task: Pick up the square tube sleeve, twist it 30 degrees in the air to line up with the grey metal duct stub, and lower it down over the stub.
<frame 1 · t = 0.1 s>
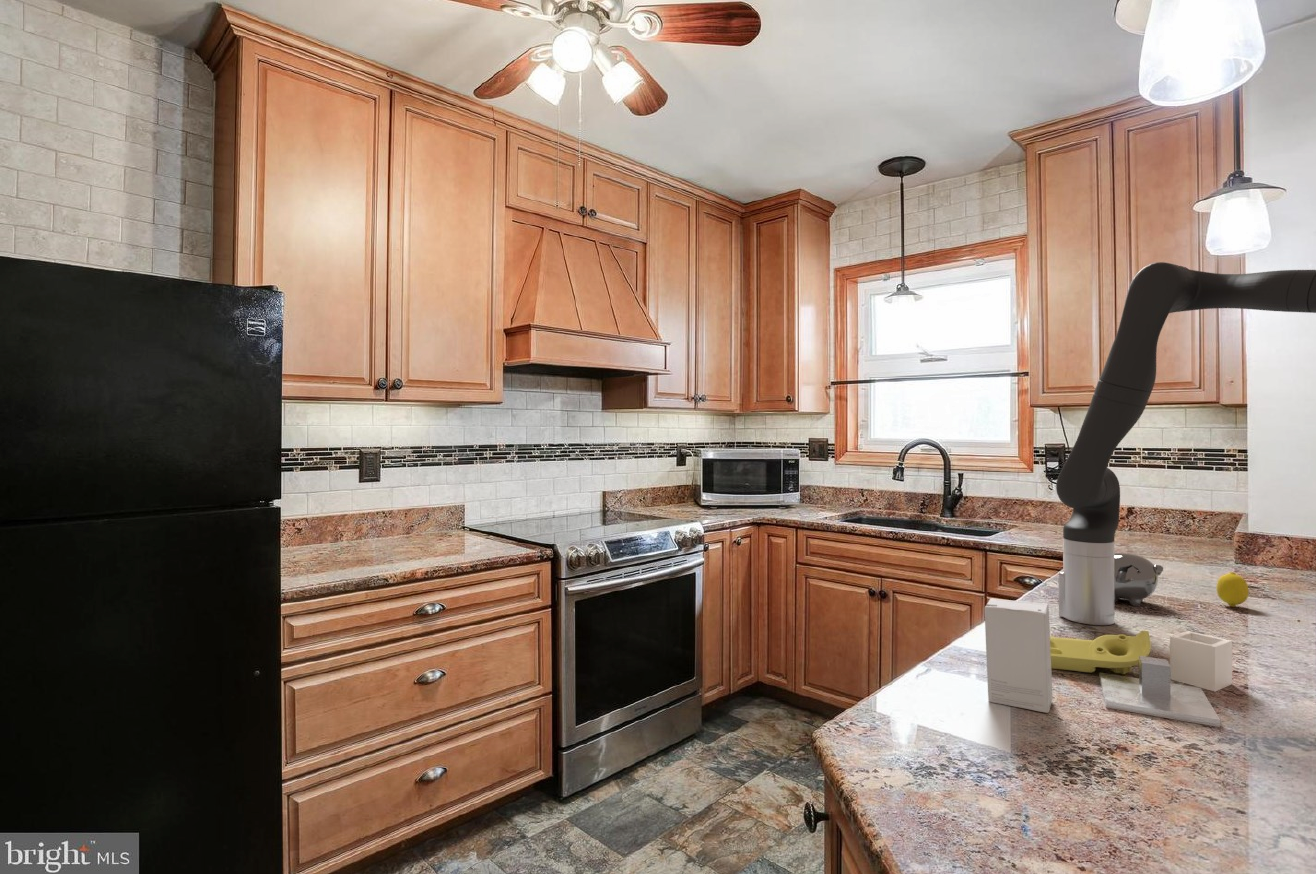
skincare box: (1018, 703, 99), on the countertop
square tube sleeve: (1200, 681, 106), on the countertop
duct stub: (1154, 700, 99), on the countertop
lemon: (1232, 607, 151), on the countertop
piggy bank: (1123, 602, 156), on the countertop
plastic component: (1077, 668, 114), on the countertop
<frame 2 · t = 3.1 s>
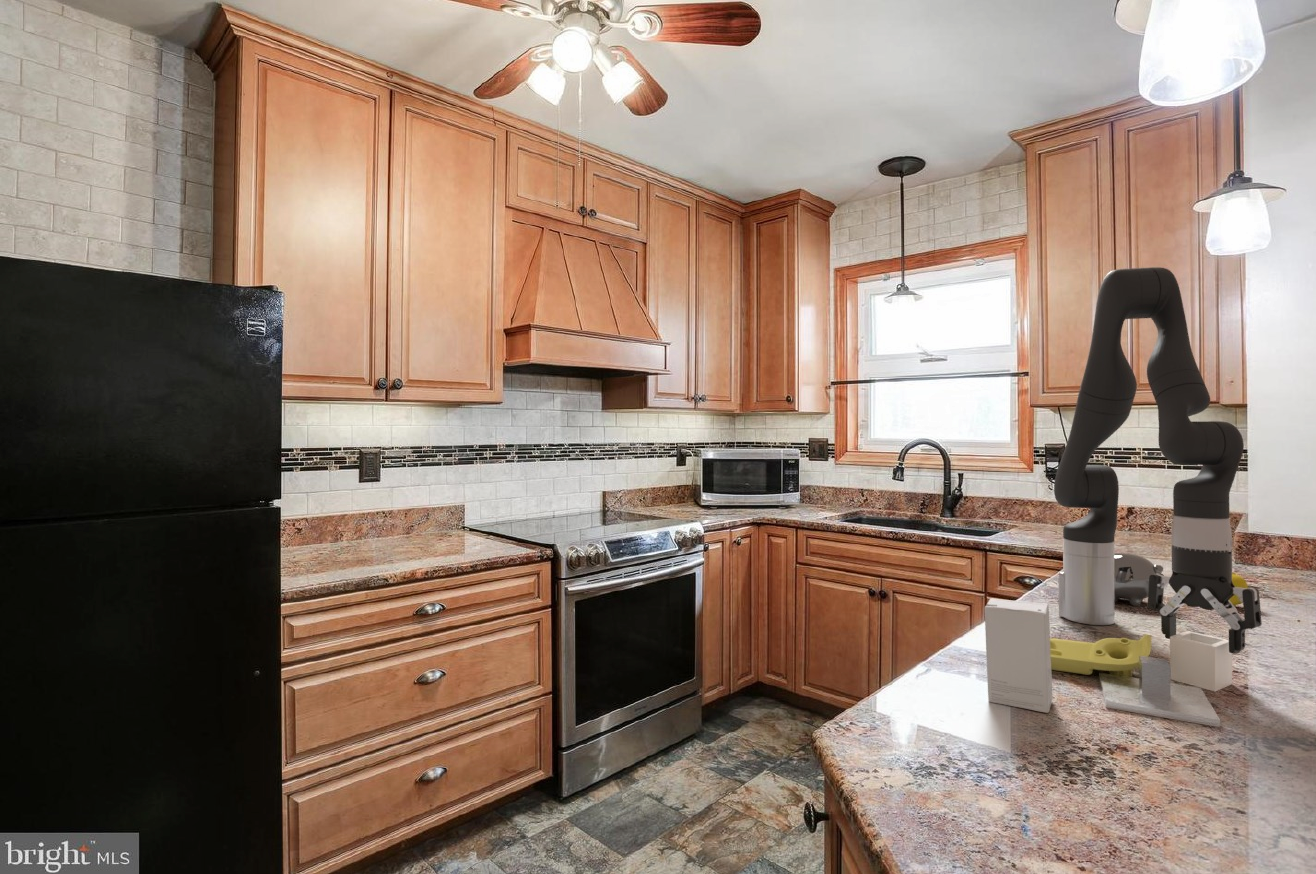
hand: (1201, 645, 106), 6 cm above the countertop, fingers open, 8 cm apart
plastic component: (1078, 670, 113), on the countertop
everything else where it was.
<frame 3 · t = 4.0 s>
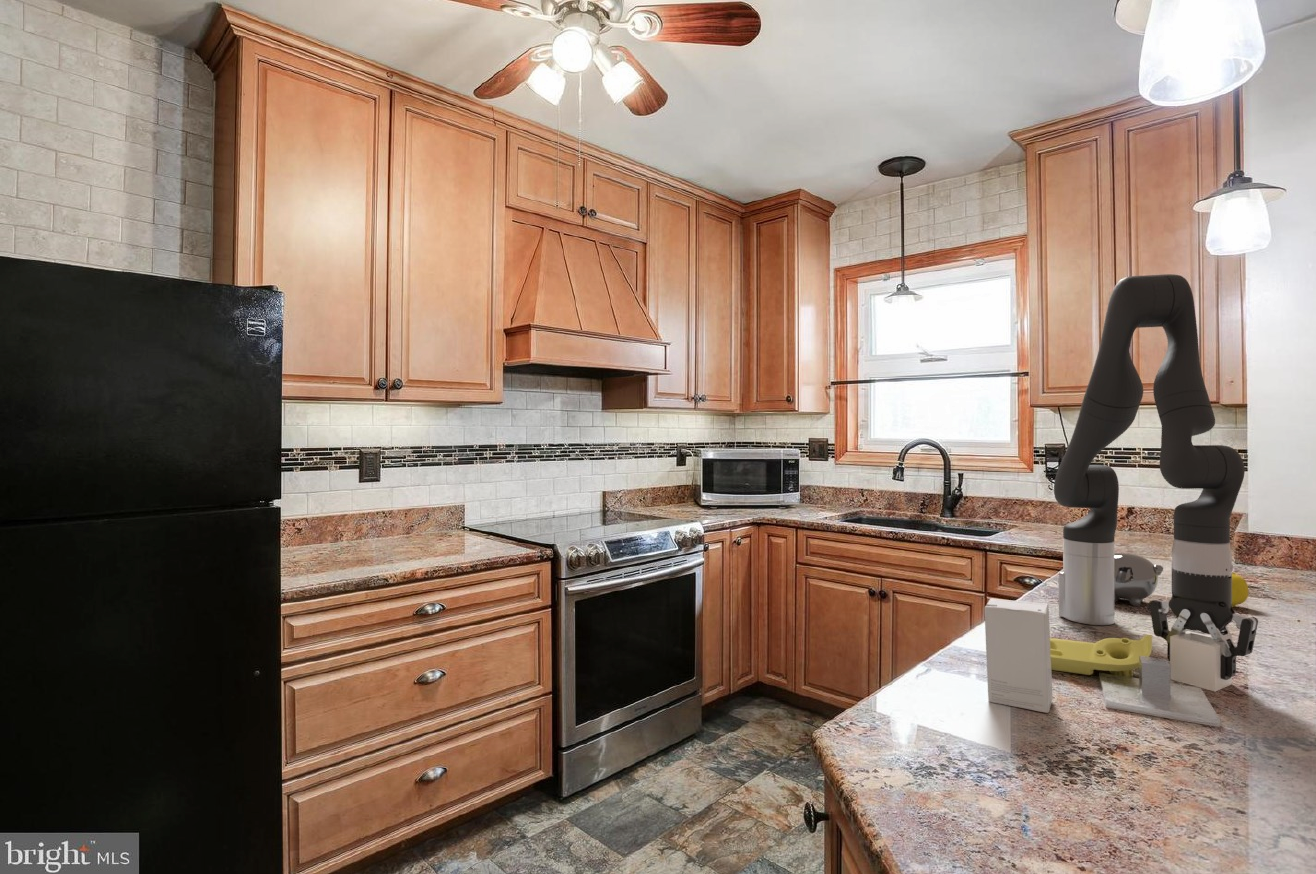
hand: (1200, 671, 106), 2 cm above the countertop, fingers closed on square tube sleeve, 6 cm apart
square tube sleeve: (1200, 681, 106), on the countertop, touching gripper
everything else where it was.
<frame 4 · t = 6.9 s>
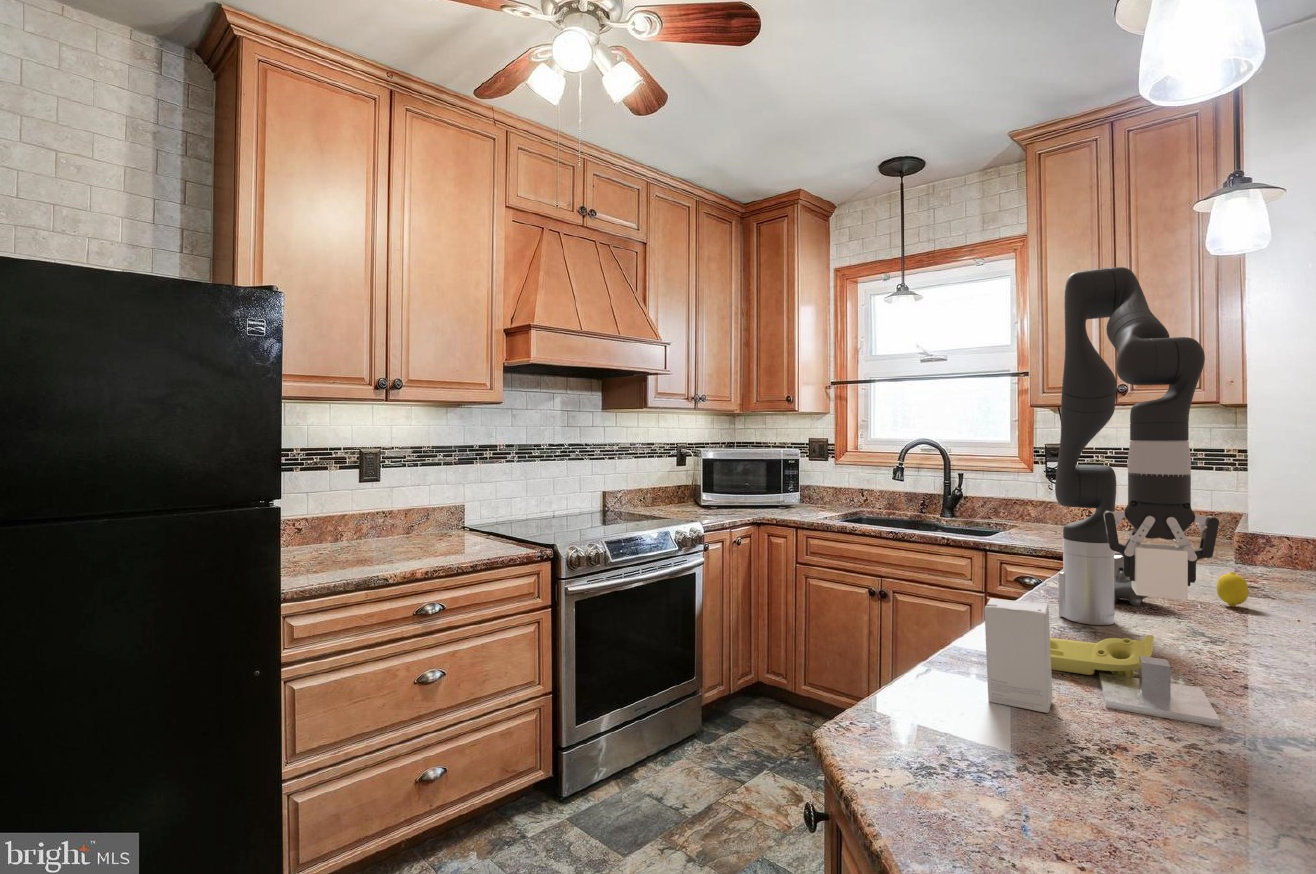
hand: (1158, 582, 99), 18 cm above the countertop, fingers closed on square tube sleeve, 6 cm apart
square tube sleeve: (1158, 593, 99), point 16 cm above the countertop, touching gripper
everything else where it was.
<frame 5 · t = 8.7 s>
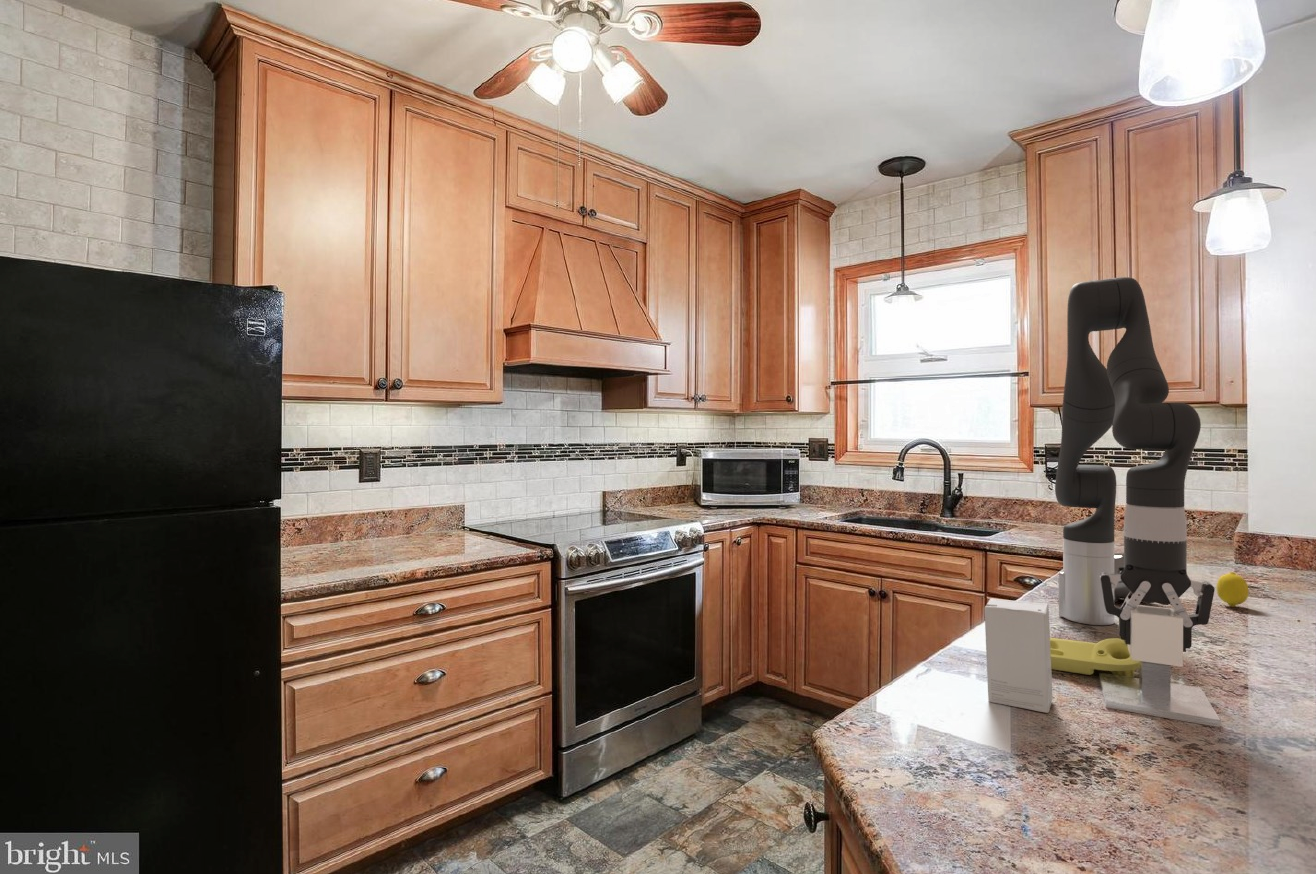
hand: (1154, 646, 99), 8 cm above the countertop, fingers closed on square tube sleeve, 6 cm apart
square tube sleeve: (1154, 657, 99), point 7 cm above the countertop, touching gripper
everything else where it was.
when the fingers open (4 cm above the countertop, at t = 10.0 s): square tube sleeve drops 1 cm, resting on duct stub.
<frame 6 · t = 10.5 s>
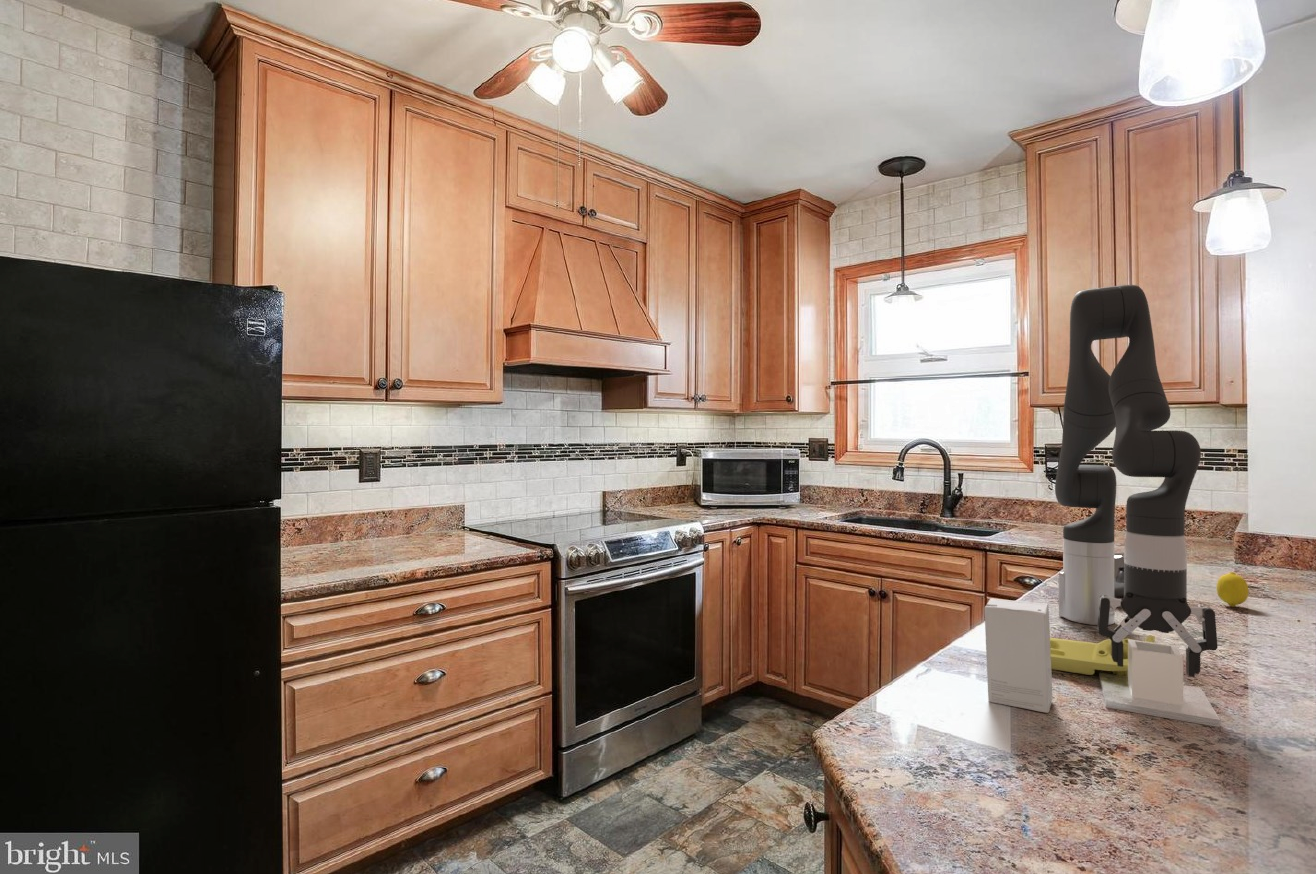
hand: (1154, 670, 99), 5 cm above the countertop, fingers open, 8 cm apart
square tube sleeve: (1154, 694, 99), point 1 cm above the countertop, touching duct stub
everything else where it was.
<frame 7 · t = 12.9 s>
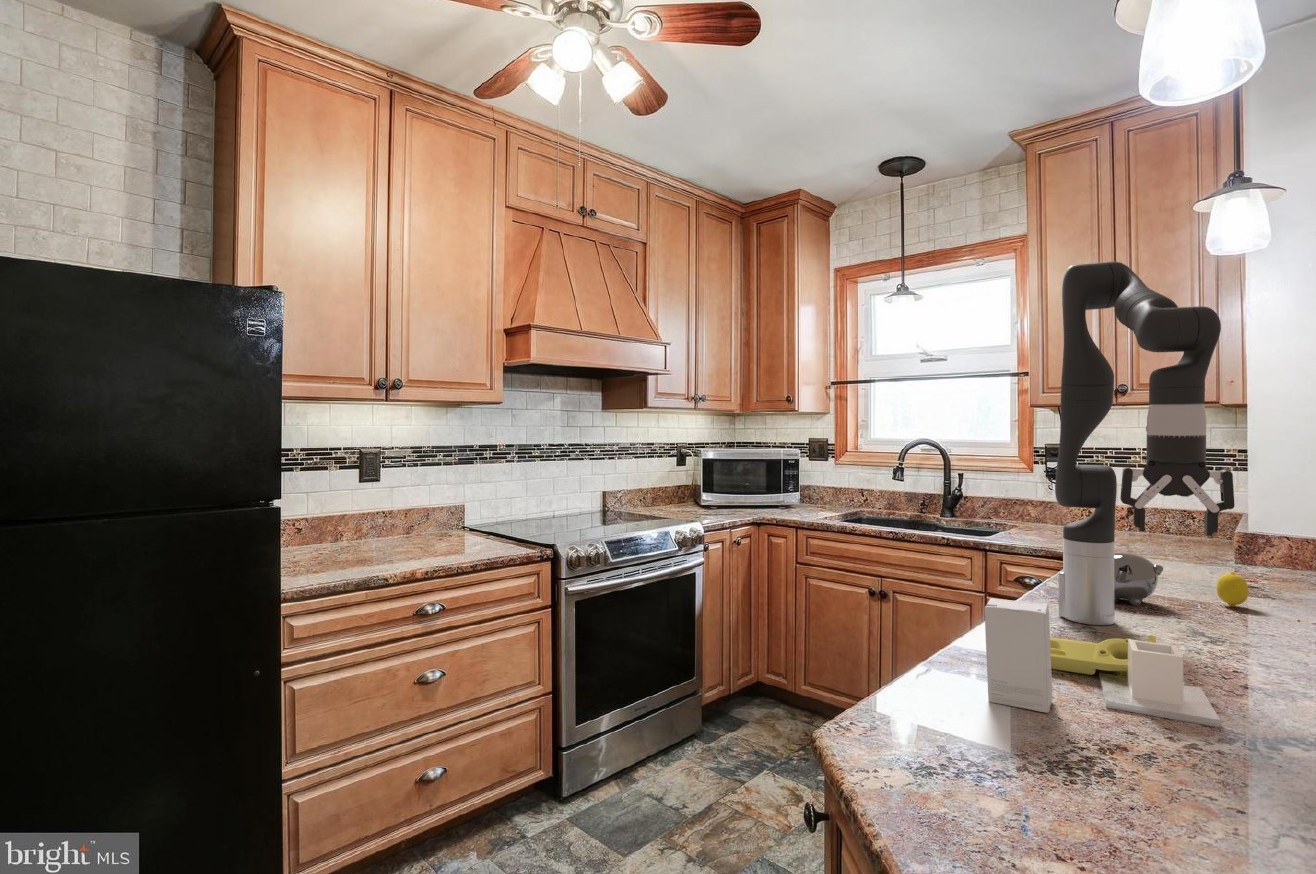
hand: (1174, 533, 106), 24 cm above the countertop, fingers open, 8 cm apart
plastic component: (1082, 670, 113), on the countertop, touching duct stub
everything else where it was.
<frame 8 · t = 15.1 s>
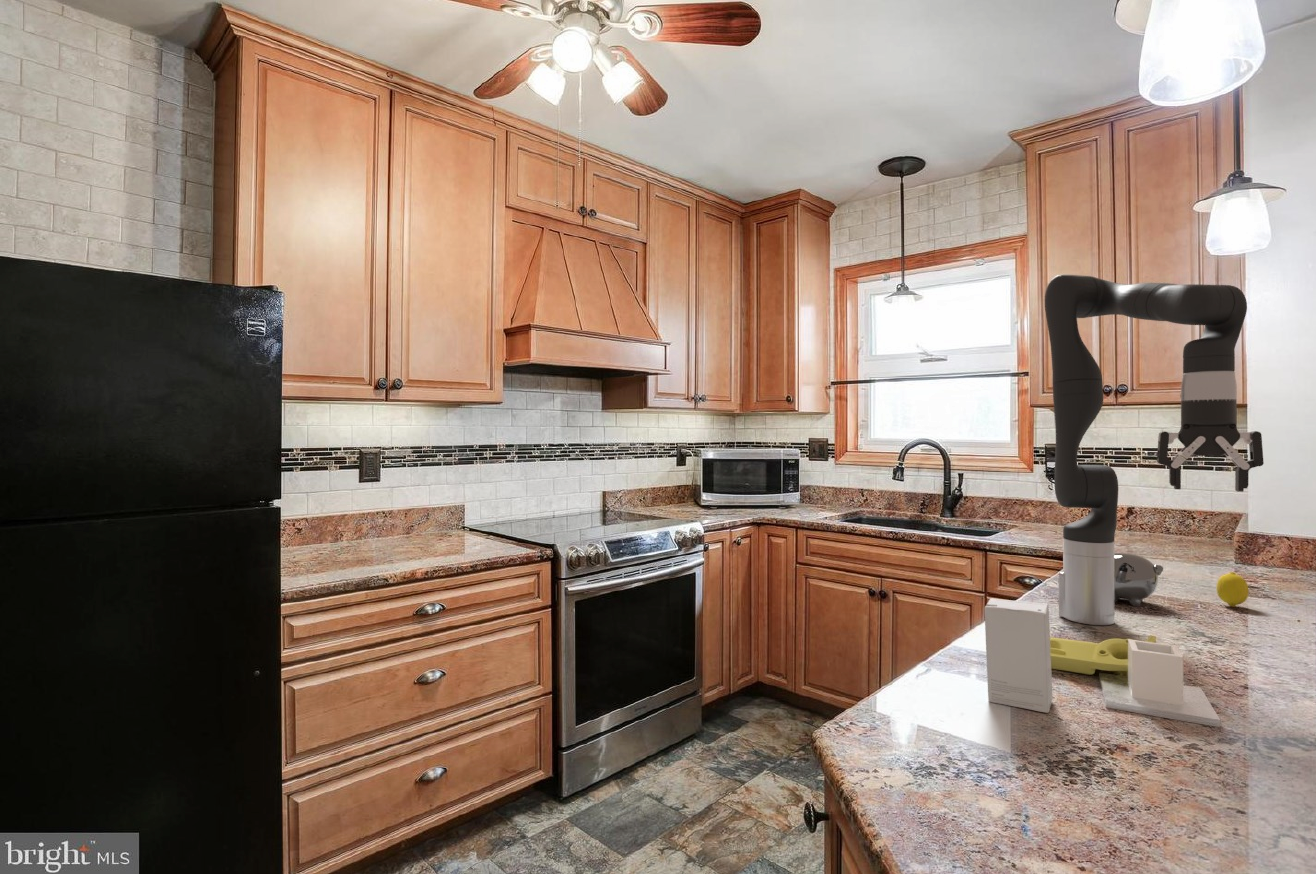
hand: (1207, 490, 116), 30 cm above the countertop, fingers open, 8 cm apart
plastic component: (1082, 670, 113), on the countertop
everything else where it was.
at the end: square tube sleeve 0.0 cm from the duct stub (horizontally); square tube sleeve point 1.0 cm above the countertop; the gripper is holding nothing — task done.
